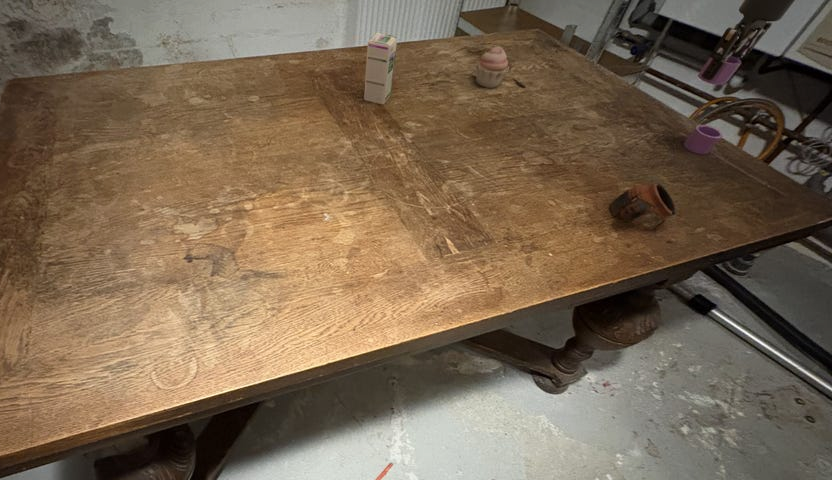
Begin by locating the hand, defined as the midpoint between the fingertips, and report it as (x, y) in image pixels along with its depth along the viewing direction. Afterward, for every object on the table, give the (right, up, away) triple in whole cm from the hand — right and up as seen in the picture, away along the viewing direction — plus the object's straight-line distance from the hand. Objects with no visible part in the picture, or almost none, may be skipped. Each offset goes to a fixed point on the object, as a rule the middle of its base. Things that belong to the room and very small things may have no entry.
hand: (714, 75), depth 93 cm
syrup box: (-76, +1, +15) cm, 77 cm away
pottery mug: (-26, -34, -10) cm, 44 cm away
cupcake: (-44, +10, +24) cm, 51 cm away
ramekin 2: (+3, -14, +9) cm, 16 cm away
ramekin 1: (0, 0, +1) cm, 1 cm away
